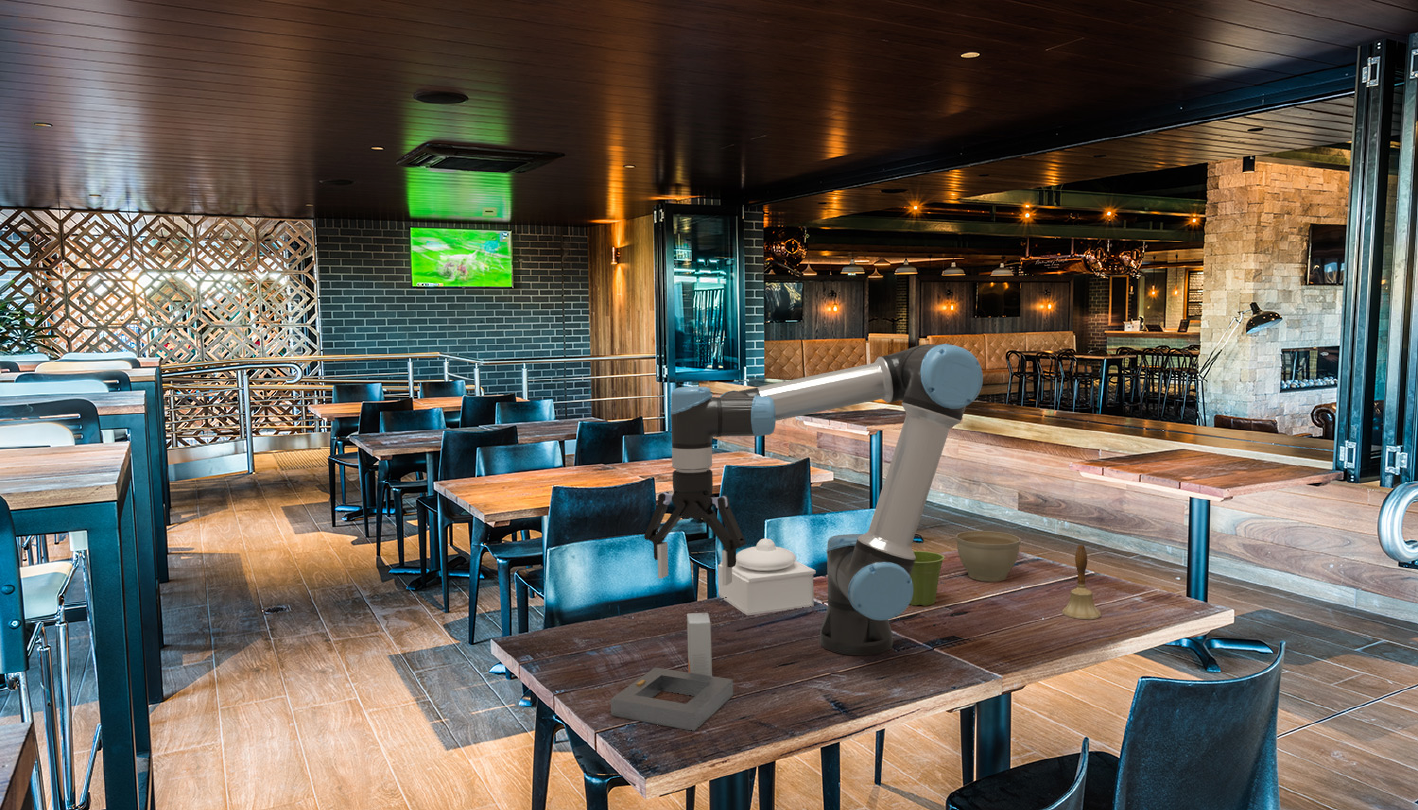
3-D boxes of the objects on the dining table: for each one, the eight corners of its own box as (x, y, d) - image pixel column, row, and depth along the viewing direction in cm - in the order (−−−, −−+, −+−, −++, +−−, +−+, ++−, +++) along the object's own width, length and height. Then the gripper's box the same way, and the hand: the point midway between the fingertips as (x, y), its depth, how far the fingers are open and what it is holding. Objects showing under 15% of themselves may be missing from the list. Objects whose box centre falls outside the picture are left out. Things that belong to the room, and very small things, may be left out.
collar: (733, 695, 165) (732, 677, 165) (694, 731, 151) (694, 711, 151) (655, 682, 172) (654, 665, 172) (611, 715, 158) (610, 697, 157)
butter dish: (718, 596, 228) (717, 534, 227) (783, 588, 235) (782, 527, 233) (747, 616, 212) (746, 549, 210) (815, 606, 218) (815, 541, 217)
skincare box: (687, 673, 176) (686, 613, 176) (709, 672, 177) (708, 612, 176) (689, 685, 170) (688, 622, 169) (712, 684, 171) (711, 621, 170)
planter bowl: (1010, 589, 229) (1011, 546, 228) (947, 580, 238) (947, 539, 237) (1027, 574, 242) (1027, 534, 241) (966, 567, 251) (966, 528, 250)
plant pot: (951, 599, 221) (951, 553, 221) (935, 612, 211) (935, 564, 211) (904, 592, 228) (904, 548, 227) (886, 605, 218) (886, 558, 217)
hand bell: (1061, 617, 206) (1062, 548, 205) (1062, 607, 213) (1063, 540, 212) (1101, 621, 203) (1102, 550, 201) (1100, 610, 210) (1101, 542, 209)
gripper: (761, 469, 169) (763, 581, 171) (644, 463, 180) (647, 569, 182) (745, 475, 163) (747, 592, 164) (624, 469, 173) (627, 578, 175)
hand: (694, 580), depth 173 cm, fingers open, 13 cm apart
